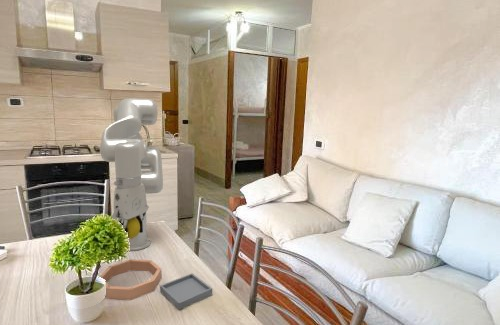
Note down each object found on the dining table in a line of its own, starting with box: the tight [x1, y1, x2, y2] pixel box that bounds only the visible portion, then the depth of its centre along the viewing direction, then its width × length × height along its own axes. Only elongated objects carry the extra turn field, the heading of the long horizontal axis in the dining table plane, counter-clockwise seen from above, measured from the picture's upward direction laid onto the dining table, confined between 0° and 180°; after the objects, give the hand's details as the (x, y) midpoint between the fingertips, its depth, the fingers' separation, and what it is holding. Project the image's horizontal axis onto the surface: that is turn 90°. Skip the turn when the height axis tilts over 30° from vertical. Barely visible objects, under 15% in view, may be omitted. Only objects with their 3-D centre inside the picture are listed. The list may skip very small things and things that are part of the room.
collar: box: [99, 258, 162, 301], centre depth 110 cm, size 18×18×4 cm
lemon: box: [126, 217, 140, 239], centre depth 106 cm, size 6×6×8 cm
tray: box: [159, 272, 213, 311], centre depth 105 cm, size 12×12×2 cm
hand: (131, 234), depth 106 cm, fingers closed on lemon, 5 cm apart
